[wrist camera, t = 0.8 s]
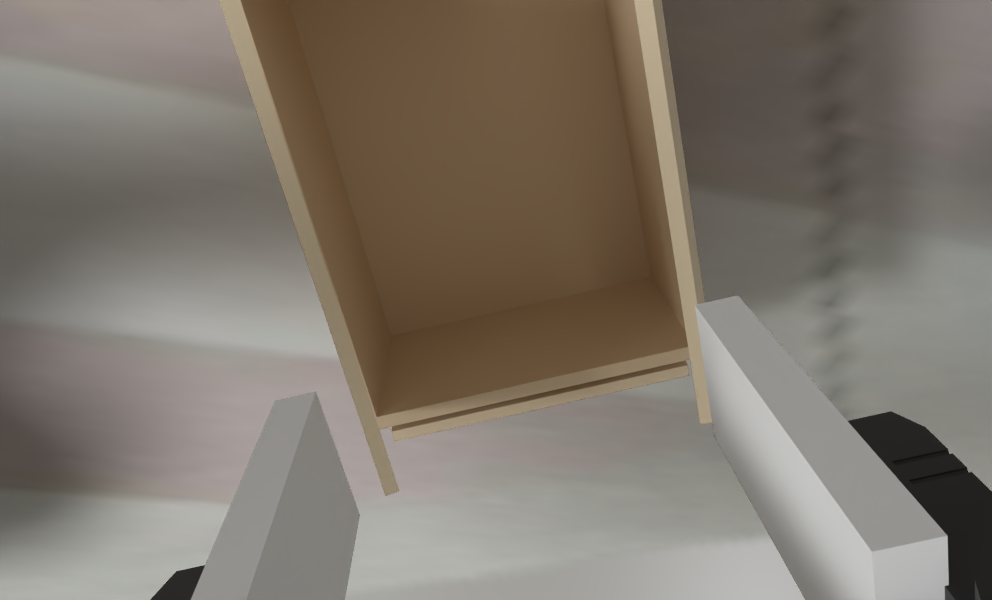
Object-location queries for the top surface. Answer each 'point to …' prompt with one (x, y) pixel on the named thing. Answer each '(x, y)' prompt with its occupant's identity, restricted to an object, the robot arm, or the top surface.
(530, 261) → the carton
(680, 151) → the flap
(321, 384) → the top surface
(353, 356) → the flap
